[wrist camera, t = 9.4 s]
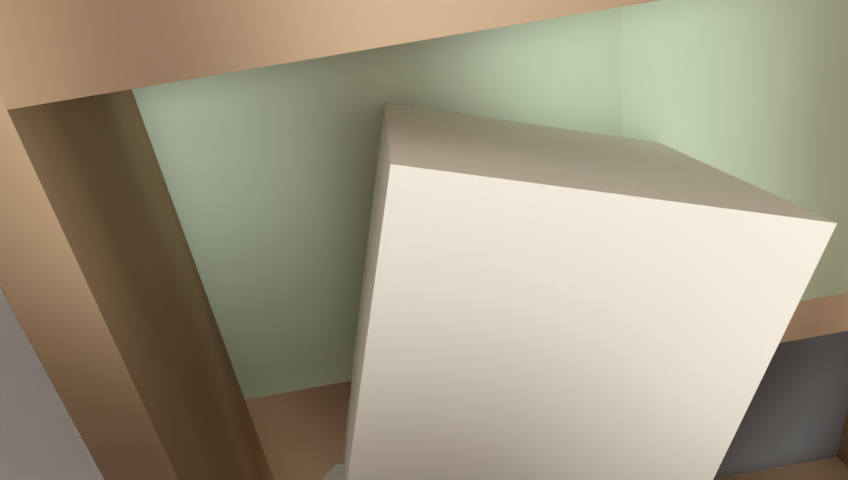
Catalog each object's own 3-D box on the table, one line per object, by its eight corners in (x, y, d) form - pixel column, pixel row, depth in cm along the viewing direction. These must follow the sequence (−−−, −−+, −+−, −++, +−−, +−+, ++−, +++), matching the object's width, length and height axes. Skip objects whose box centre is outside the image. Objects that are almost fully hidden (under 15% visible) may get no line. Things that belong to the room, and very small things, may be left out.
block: (353, 351, 11) (341, 525, 7) (385, 102, 9) (390, 163, 5) (585, 370, 11) (684, 538, 8) (660, 143, 10) (836, 222, 6)
